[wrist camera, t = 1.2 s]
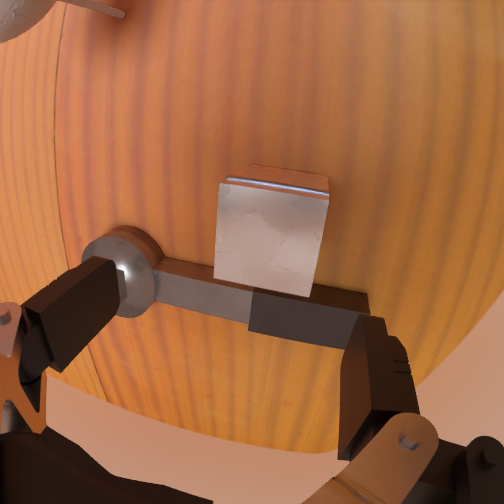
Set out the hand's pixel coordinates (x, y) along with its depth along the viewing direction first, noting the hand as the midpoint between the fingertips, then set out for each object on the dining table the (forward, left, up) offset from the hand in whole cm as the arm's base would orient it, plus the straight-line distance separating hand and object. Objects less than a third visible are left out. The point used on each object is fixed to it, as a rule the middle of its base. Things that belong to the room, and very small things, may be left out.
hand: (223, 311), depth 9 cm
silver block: (0, 0, -12) cm, 12 cm away
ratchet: (+4, +7, -12) cm, 15 cm away
